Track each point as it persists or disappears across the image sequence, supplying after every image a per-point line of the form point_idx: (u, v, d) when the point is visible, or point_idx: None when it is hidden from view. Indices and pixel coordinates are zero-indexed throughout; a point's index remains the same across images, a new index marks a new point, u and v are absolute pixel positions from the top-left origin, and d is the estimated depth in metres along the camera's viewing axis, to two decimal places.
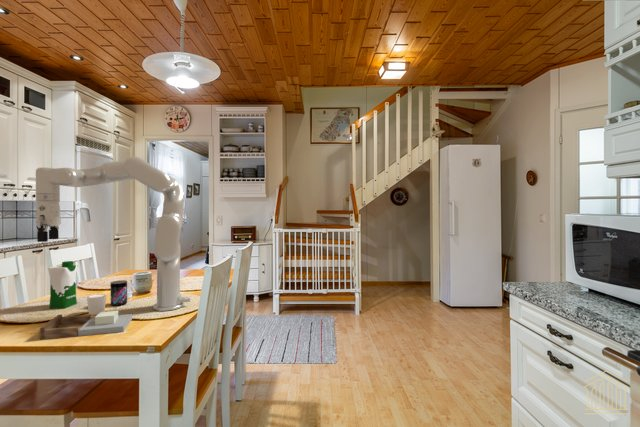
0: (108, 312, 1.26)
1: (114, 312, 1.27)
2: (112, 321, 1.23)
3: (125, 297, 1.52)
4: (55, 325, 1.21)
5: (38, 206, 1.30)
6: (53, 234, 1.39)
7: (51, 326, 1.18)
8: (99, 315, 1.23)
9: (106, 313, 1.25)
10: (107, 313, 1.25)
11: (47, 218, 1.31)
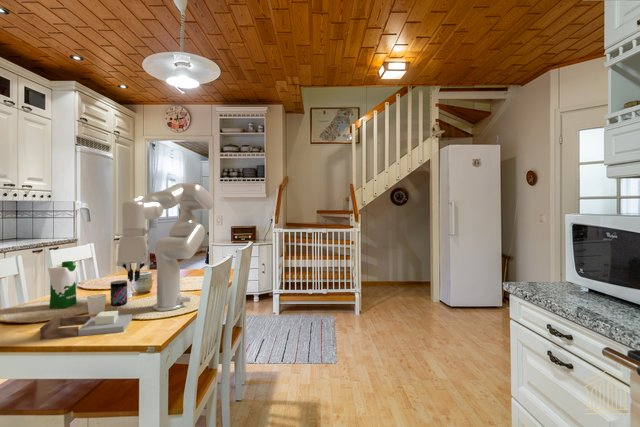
0: (108, 312, 1.26)
1: (114, 312, 1.27)
2: (112, 321, 1.23)
3: (125, 297, 1.52)
4: (55, 325, 1.21)
5: (146, 241, 1.27)
6: (132, 275, 1.27)
7: (51, 326, 1.18)
8: (99, 315, 1.23)
9: (106, 313, 1.25)
10: (107, 313, 1.25)
11: None
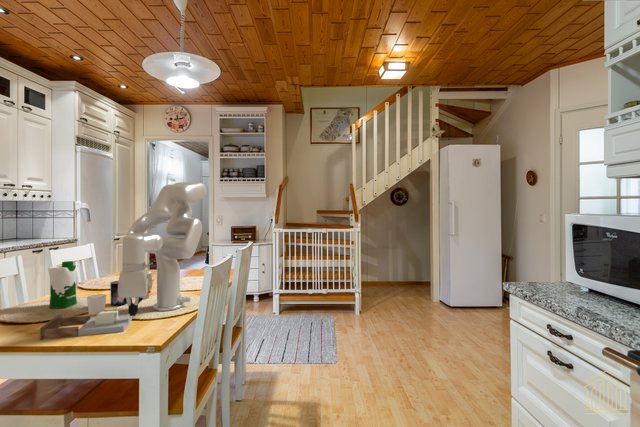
0: (108, 312, 1.26)
1: (114, 312, 1.27)
2: (112, 321, 1.23)
3: None
4: (55, 325, 1.21)
5: (145, 276, 1.27)
6: None
7: (51, 326, 1.18)
8: (99, 315, 1.23)
9: (106, 313, 1.25)
10: (107, 313, 1.25)
11: (148, 286, 1.31)
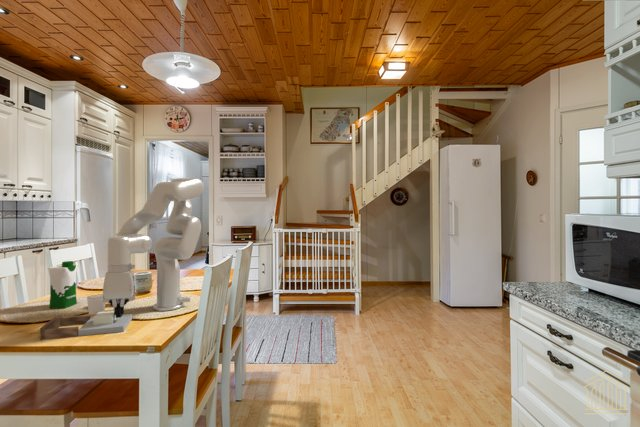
0: (106, 312, 1.26)
1: (112, 312, 1.26)
2: (110, 321, 1.23)
3: None
4: (55, 325, 1.21)
5: (131, 277, 1.26)
6: None
7: (51, 326, 1.18)
8: (97, 315, 1.23)
9: (104, 313, 1.25)
10: (105, 313, 1.25)
11: None
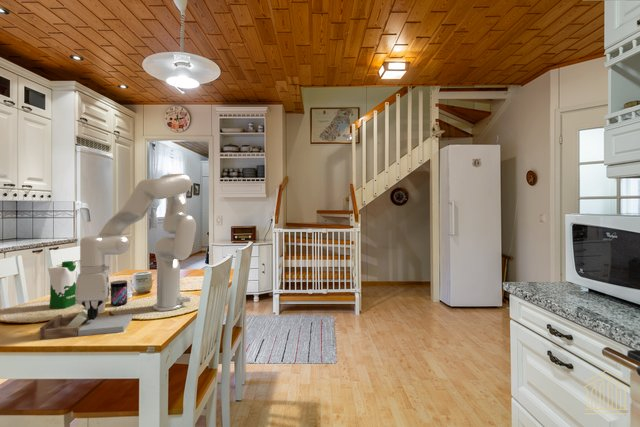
0: None
1: (80, 312, 1.23)
2: (82, 319, 1.20)
3: (125, 297, 1.52)
4: (55, 325, 1.21)
5: (105, 278, 1.23)
6: None
7: (51, 326, 1.18)
8: (68, 324, 1.20)
9: None
10: None
11: (109, 289, 1.26)
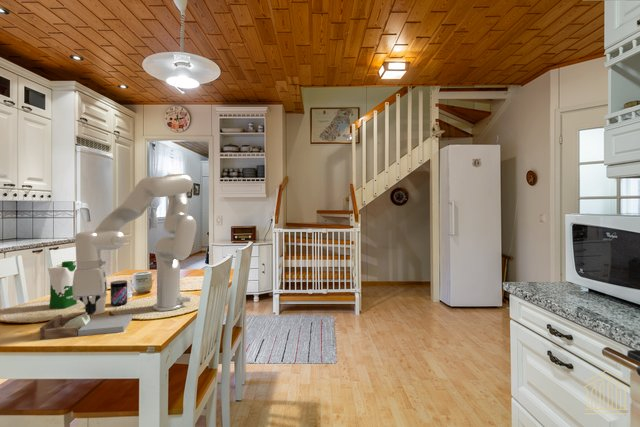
0: (77, 317, 1.23)
1: (83, 315, 1.23)
2: (83, 323, 1.20)
3: (125, 297, 1.52)
4: (55, 325, 1.21)
5: (102, 273, 1.23)
6: None
7: (51, 326, 1.18)
8: (68, 323, 1.20)
9: (75, 318, 1.22)
10: (76, 318, 1.22)
11: (106, 284, 1.26)
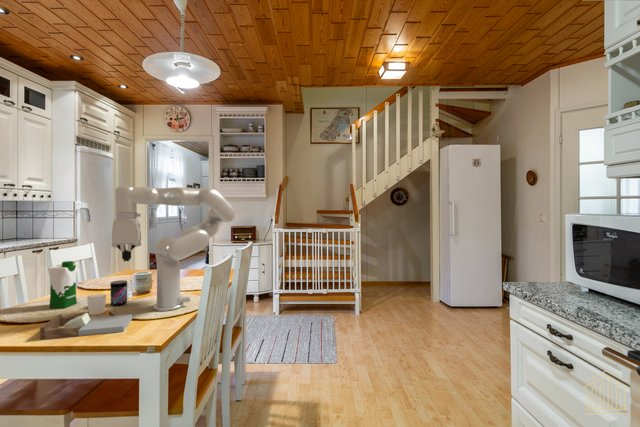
0: (77, 317, 1.23)
1: (83, 315, 1.23)
2: (83, 323, 1.20)
3: (125, 297, 1.52)
4: (55, 325, 1.21)
5: (137, 224, 1.37)
6: None
7: (51, 326, 1.18)
8: (67, 323, 1.20)
9: (75, 318, 1.22)
10: (76, 318, 1.22)
11: (140, 235, 1.40)
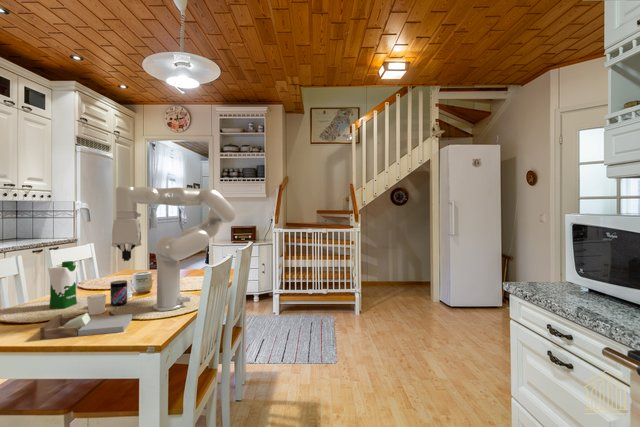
0: (77, 317, 1.23)
1: (83, 315, 1.23)
2: (82, 323, 1.20)
3: (125, 297, 1.52)
4: (55, 325, 1.21)
5: (138, 224, 1.37)
6: None
7: (51, 326, 1.18)
8: (67, 323, 1.20)
9: (75, 318, 1.22)
10: (76, 318, 1.22)
11: None
